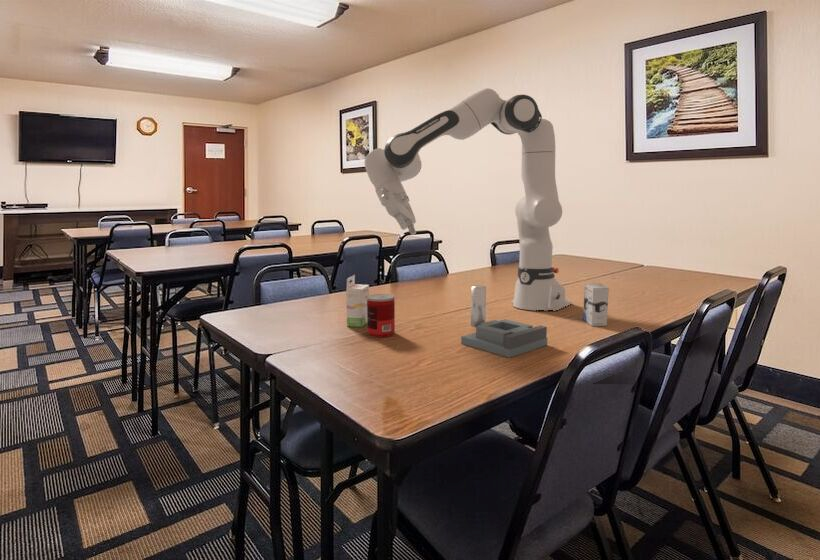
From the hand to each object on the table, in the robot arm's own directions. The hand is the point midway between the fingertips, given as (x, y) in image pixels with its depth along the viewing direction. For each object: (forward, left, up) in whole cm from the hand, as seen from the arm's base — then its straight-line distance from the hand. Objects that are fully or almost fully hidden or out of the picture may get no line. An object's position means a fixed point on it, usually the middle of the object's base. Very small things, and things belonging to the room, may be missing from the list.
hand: (409, 231), depth 164 cm
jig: (+3, +41, -28) cm, 50 cm away
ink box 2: (-36, +45, -28) cm, 64 cm away
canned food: (+21, +11, -28) cm, 37 cm away
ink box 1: (+19, -3, -28) cm, 34 cm away
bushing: (-7, +24, -28) cm, 37 cm away
